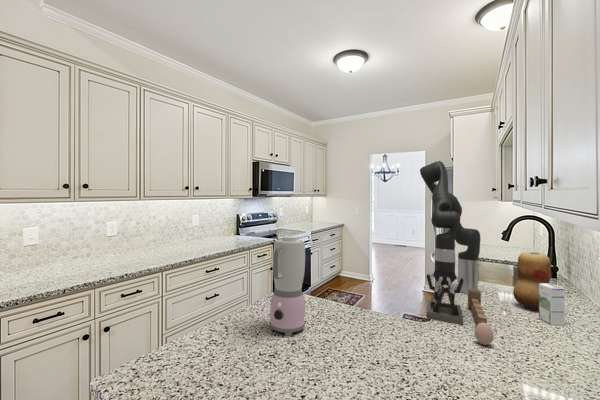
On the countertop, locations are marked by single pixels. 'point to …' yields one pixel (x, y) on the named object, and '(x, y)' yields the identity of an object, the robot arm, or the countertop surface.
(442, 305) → the silver shallow tray
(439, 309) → the phone stand
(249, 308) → the countertop surface
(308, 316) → the countertop surface
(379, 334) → the countertop surface
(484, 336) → the egg
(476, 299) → the door-edge rail
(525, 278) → the butternut squash
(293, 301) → the blender
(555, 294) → the syrup box
